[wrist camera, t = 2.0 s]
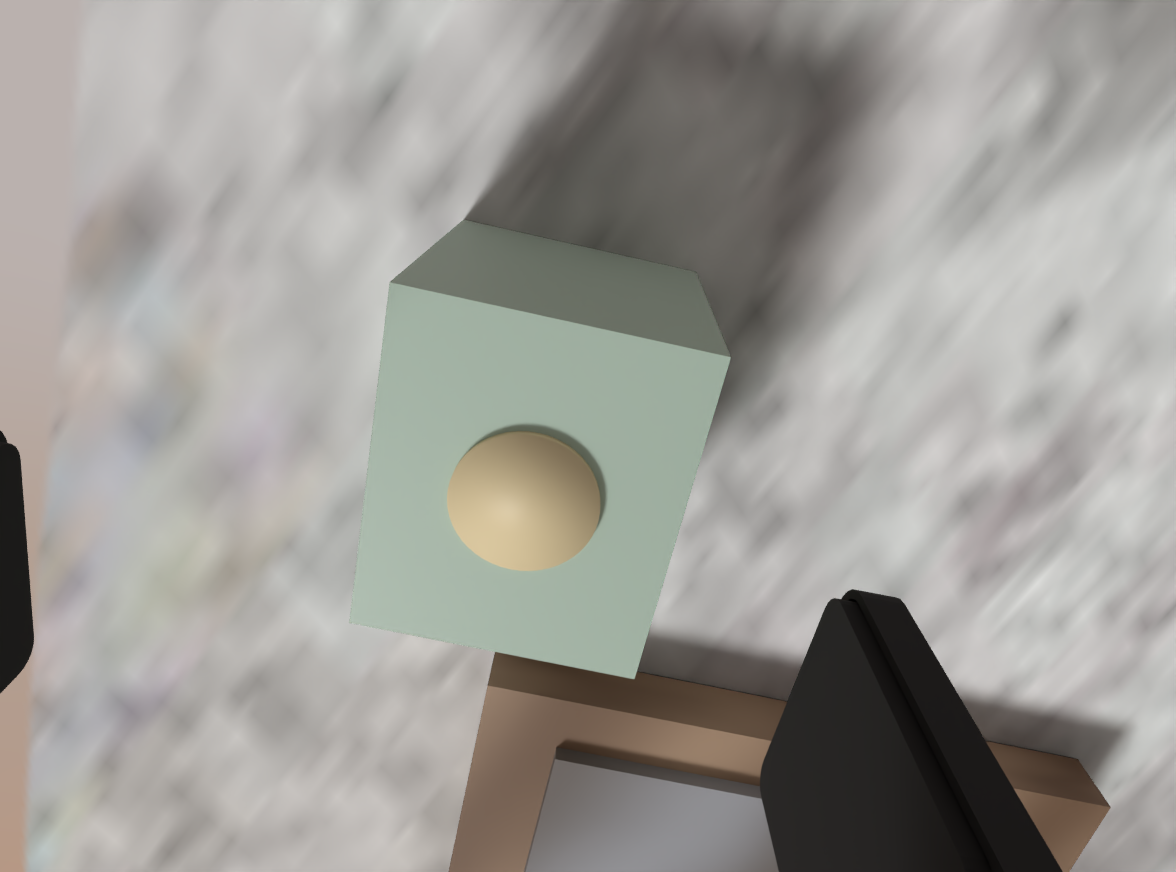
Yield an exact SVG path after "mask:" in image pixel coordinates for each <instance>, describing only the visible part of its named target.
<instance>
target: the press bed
mask: <svg viewBox="0 0 1176 872" xmlns="http://www.w3.org/2000/svg"><path fill="white" fill-rule="evenodd" d="M786 704H787V701H782V700H777V699H771V698H766V697H761V696H756V695H751V694H746V693H741V692H736V691H731V690H726V689H721V688H716V687H711V686H706V685H701V684H696V683H691V682H686V681H681V680H676V679H671V678H666V677H661V676H656V675H651V674H646V673H641V672H636V676H635V679H630V678H625V677H620V676H615V675H610V674H605V673H600V672H595V671H590V670H585V669H580V668H575V667H570V666H565V665H559V664H554V663H549V662H544V661H539V660H534V659H529V658H524V657H519V656H514V655H509V654H504V653H499V652H495V655H494V660H493V664H492V669H491V673H490V678H489V682H488V687H487V692H486V696H485V701H484V706H483V711H482V715H481V720H480V725H479V730H478V734H477V739H476V744H475V749H474V753H473V758H472V763H471V768H470V773H469V777H468V782H467V787H466V792H465V796H464V801H463V806H462V811H461V815H460V820H459V825H458V830H457V834H456V839H455V844H454V849H453V854H452V858H451V863H450V868H449V872H779V870H778V866H777V862H776V858H775V853H774V849H773V845H772V841H771V836H770V832H769V828H768V823H767V819H766V815H765V811H764V806H763V802H762V798H761V792H760V773H761V768H762V764H763V761H764V758H765V756H766V753H767V751H768V748H769V746H770V743H771V741H772V738H773V736H774V733H775V731H776V728H777V726H778V723H779V721H780V719H781V716H782V714H783V711H784V709H785V706H786ZM986 743H987V744H988V746H989V748H990V749H991V751H992V753H993V754H994V756H995V758H996V759H997V761H998V763H999V765H1000V766H1001V768H1002V770H1003V771H1004V773H1005V775H1006V776H1007V778H1008V780H1009V781H1010V783H1011V785H1012V787H1013V788H1014V790H1015V792H1016V793H1017V795H1018V797H1019V798H1020V800H1021V802H1022V803H1023V805H1024V807H1025V809H1026V810H1027V812H1028V814H1029V815H1030V817H1031V819H1032V820H1033V822H1034V824H1035V825H1036V827H1037V829H1038V830H1039V832H1040V834H1041V836H1042V837H1043V839H1044V841H1045V842H1046V844H1047V846H1048V847H1049V849H1050V851H1051V852H1052V854H1053V856H1054V858H1055V859H1056V861H1057V863H1058V864H1059V866H1060V868H1061V869H1062V871H1063V872H1069V871H1070V869H1071V868H1072V866H1073V865H1074V863H1075V862H1076V860H1077V859H1078V857H1079V856H1080V854H1081V852H1082V851H1083V849H1084V848H1085V846H1086V845H1087V843H1088V842H1089V840H1090V839H1091V837H1092V835H1093V834H1094V832H1095V831H1096V829H1097V828H1098V826H1099V825H1100V823H1101V822H1102V820H1103V818H1104V817H1105V815H1106V814H1107V812H1108V811H1109V809H1110V808H1111V807H1110V806H1109V804H1108V803H1107V801H1106V800H1105V798H1104V797H1103V795H1102V794H1101V793H1100V791H1099V790H1098V788H1097V787H1096V785H1095V784H1094V782H1093V781H1092V779H1091V778H1090V776H1089V775H1088V773H1087V772H1086V771H1085V769H1084V768H1083V766H1082V765H1081V763H1080V762H1079V760H1078V759H1074V758H1069V757H1064V756H1059V755H1054V754H1049V753H1044V752H1039V751H1033V750H1028V749H1023V748H1018V747H1013V746H1008V745H1003V744H998V743H993V742H988V741H986Z"/></svg>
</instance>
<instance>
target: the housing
mask: <svg viewBox="0 0 1176 872" xmlns="http://www.w3.org/2000/svg"><path fill="white" fill-rule="evenodd" d="M730 359H731V356H730V353H729V351H728V349H727V346H726V344H725V341H724V339H723V336H722V334H721V332H720V329H719V327H718V324H717V322H716V319H715V317H714V315H713V312H712V310H711V307H710V305H709V302H708V300H707V298H706V295H705V293H704V290H703V288H702V285H701V283H700V281H699V278H698V276H697V273H696V272H694V271H690V270H685V269H681V268H677V267H672V266H668V265H663V264H659V263H654V262H650V261H645V260H641V259H637V258H632V257H628V256H623V255H619V254H614V253H610V252H605V251H601V250H597V249H592V248H588V247H583V246H579V245H574V244H570V243H565V242H561V241H557V240H552V239H548V238H543V237H539V236H534V235H530V234H525V233H521V232H517V231H512V230H508V229H503V228H499V227H494V226H490V225H485V224H481V223H477V222H472V221H468V220H463V221H461V222H460V223H459V224H458V225H457V226H456V227H454V228H453V229H452V230H451V231H450V232H448V233H447V234H446V235H445V236H444V237H443V238H441V239H440V240H439V241H438V242H437V243H435V244H434V245H433V246H432V247H431V248H430V249H428V250H427V251H426V252H425V253H424V254H422V255H421V256H420V257H419V258H418V259H417V260H415V261H414V262H413V263H412V264H411V265H409V266H408V267H407V268H406V269H405V270H404V271H402V272H401V273H400V274H399V275H398V276H396V277H395V278H394V279H393V280H392V281H391V282H390V284H389V292H388V301H387V309H386V318H385V326H384V334H383V343H382V351H381V360H380V368H379V376H378V385H377V393H376V402H375V410H374V419H373V427H372V435H371V444H370V452H369V461H368V469H367V478H366V486H365V494H364V503H363V511H362V520H361V528H360V537H359V545H358V553H357V562H356V570H355V579H354V587H353V595H352V604H351V612H350V621H349V623H352V624H357V625H362V626H367V627H372V628H377V629H383V630H388V631H393V632H398V633H403V634H408V635H413V636H418V637H423V638H428V639H433V640H438V641H443V642H448V643H453V644H458V645H463V646H468V647H474V648H479V649H484V650H489V651H494V652H499V653H504V654H509V655H514V656H519V657H524V658H529V659H534V660H539V661H544V662H549V663H554V664H559V665H565V666H570V667H575V668H580V669H585V670H590V671H595V672H600V673H605V674H610V675H615V676H620V677H625V678H630V679H635V676H636V672H637V669H638V666H639V662H640V659H641V656H642V652H643V649H644V646H645V642H646V639H647V636H648V632H649V629H650V626H651V622H652V619H653V616H654V612H655V609H656V606H657V602H658V599H659V596H660V592H661V589H662V586H663V582H664V579H665V576H666V572H667V569H668V566H669V562H670V559H671V556H672V552H673V549H674V546H675V542H676V539H677V536H678V533H679V529H680V526H681V523H682V519H683V516H684V513H685V509H686V506H687V503H688V499H689V496H690V493H691V489H692V486H693V483H694V479H695V476H696V473H697V469H698V466H699V463H700V459H701V456H702V453H703V449H704V446H705V443H706V439H707V436H708V433H709V429H710V426H711V423H712V419H713V416H714V413H715V409H716V406H717V403H718V399H719V396H720V393H721V389H722V386H723V383H724V379H725V376H726V373H727V369H728V366H729V363H730Z"/></svg>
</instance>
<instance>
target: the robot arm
mask: <svg viewBox="0 0 1176 872" xmlns="http://www.w3.org/2000/svg"><path fill="white" fill-rule="evenodd" d="M33 644H34V632H33V619H32V606H31V593H30V579H29V566H28V553H27V539H26V527H25V513H24V500H23V487H22V473H21V460H20V455H19V452H18V450H17V448H16V447H15V446H13V445H12V444H9V443H7V440H6V438H5V436H4V435H3V433H2V432H1V431H0V693H1V692H2V691H3V690H4V689H5V688H6V687H7V686H8V685H9V684H10V683H11V682H12V680H14V678H16V677H17V675H18V674H19V673H20V672H21V671H22V670H23V668H24V667H25V665H26V663H27V662H28V660H29V657H30V655H31V652H32V648H33ZM760 792H761V798H762V802H763V806H764V811H765V815H766V819H767V823H768V828H769V832H770V836H771V841H772V845H773V849H774V853H775V858H776V862H777V866H778V870H779V872H1063V871H1062V869H1061V868H1060V866H1059V864H1058V863H1057V861H1056V859H1055V858H1054V856H1053V854H1052V852H1051V851H1050V849H1049V847H1048V846H1047V844H1046V842H1045V841H1044V839H1043V837H1042V836H1041V834H1040V832H1039V830H1038V829H1037V827H1036V825H1035V824H1034V822H1033V820H1032V819H1031V817H1030V815H1029V814H1028V812H1027V810H1026V809H1025V807H1024V805H1023V803H1022V802H1021V800H1020V798H1019V797H1018V795H1017V793H1016V792H1015V790H1014V788H1013V787H1012V785H1011V783H1010V781H1009V780H1008V778H1007V776H1006V775H1005V773H1004V771H1003V770H1002V768H1001V766H1000V765H999V763H998V761H997V759H996V758H995V756H994V754H993V753H992V751H991V749H990V748H989V746H988V744H987V743H986V741H985V739H984V738H983V736H982V734H981V732H980V731H979V729H978V727H977V726H976V724H975V722H974V721H973V719H972V717H971V716H970V714H969V712H968V710H967V709H966V707H965V705H964V704H963V702H962V700H961V699H960V697H959V695H958V694H957V692H956V690H955V688H954V687H953V685H952V683H951V682H950V680H949V678H948V677H947V675H946V673H945V672H944V670H943V668H942V666H941V665H940V663H939V661H938V660H937V658H936V656H935V655H934V653H933V651H932V650H931V648H930V646H929V645H928V643H927V641H926V639H925V638H924V636H923V634H922V633H921V631H920V629H919V628H918V626H917V624H916V623H915V621H914V619H913V617H912V616H911V614H910V612H909V611H908V609H907V607H906V606H905V604H904V603H903V602H902V601H901V599H899V598H895V597H891V596H885V595H880V594H875V593H869V592H864V591H859V590H854V589H852V590H850V591H848V592H847V593H846V594H845V595H844V596H843V597H842V599H836V598H834V599H831V600H830V601H829V602H828V604H827V606H826V608H825V610H824V612H823V615H822V617H821V620H820V622H819V625H818V627H817V629H816V632H815V634H814V637H813V639H812V642H811V644H810V647H809V649H808V652H807V654H806V657H805V659H804V662H803V664H802V667H801V669H800V672H799V674H798V676H797V679H796V681H795V684H794V686H793V689H792V691H791V694H790V696H789V699H788V701H787V704H786V706H785V709H784V711H783V714H782V716H781V719H780V721H779V723H778V726H777V728H776V731H775V733H774V736H773V738H772V741H771V743H770V746H769V748H768V751H767V753H766V756H765V758H764V761H763V764H762V768H761V773H760Z"/></svg>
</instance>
